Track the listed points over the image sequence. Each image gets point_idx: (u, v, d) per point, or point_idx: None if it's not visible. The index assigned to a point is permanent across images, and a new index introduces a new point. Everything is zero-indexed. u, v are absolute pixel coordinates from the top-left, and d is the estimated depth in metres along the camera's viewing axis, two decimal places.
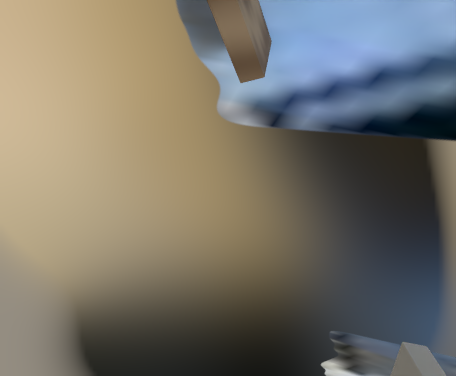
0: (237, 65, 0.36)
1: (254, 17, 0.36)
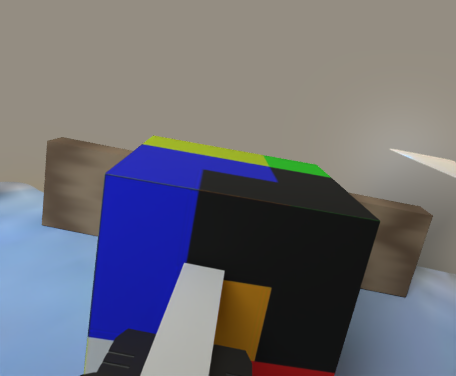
0: (81, 141, 0.32)
1: (96, 193, 0.31)
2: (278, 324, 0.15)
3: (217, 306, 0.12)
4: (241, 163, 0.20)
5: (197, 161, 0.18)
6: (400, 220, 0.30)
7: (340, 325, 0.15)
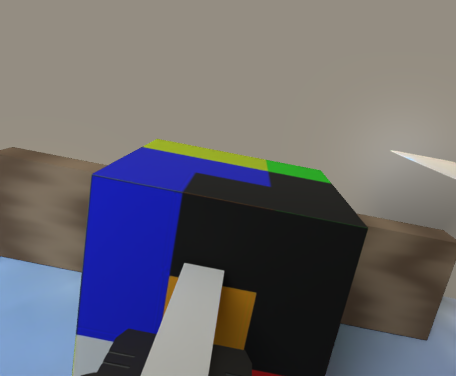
0: (35, 152, 0.27)
1: (52, 216, 0.26)
2: (263, 330, 0.15)
3: (217, 306, 0.12)
4: (239, 167, 0.20)
5: (192, 164, 0.18)
6: (422, 249, 0.25)
7: (327, 334, 0.15)
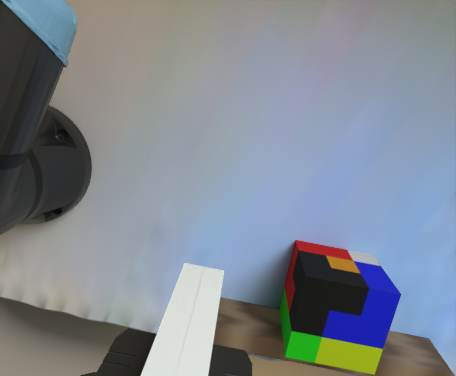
0: None
1: (407, 349, 0.49)
2: (323, 261, 0.45)
3: (217, 306, 0.12)
4: (337, 335, 0.42)
5: (360, 328, 0.42)
6: (221, 325, 0.47)
7: (303, 258, 0.45)
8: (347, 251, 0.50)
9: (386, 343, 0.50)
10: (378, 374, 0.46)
